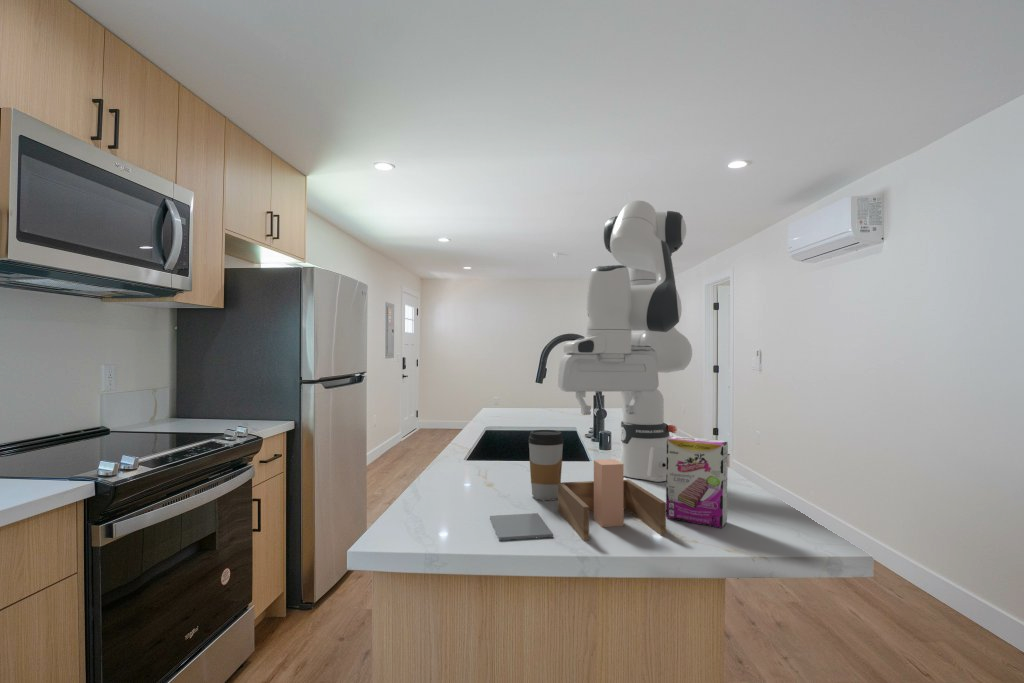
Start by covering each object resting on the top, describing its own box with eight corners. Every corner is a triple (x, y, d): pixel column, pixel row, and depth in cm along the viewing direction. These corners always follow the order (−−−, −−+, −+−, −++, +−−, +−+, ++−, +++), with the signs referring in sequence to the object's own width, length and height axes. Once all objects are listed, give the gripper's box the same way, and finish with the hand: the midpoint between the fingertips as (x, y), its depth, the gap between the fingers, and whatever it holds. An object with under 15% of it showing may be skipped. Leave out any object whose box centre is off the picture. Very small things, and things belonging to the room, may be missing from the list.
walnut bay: (628, 507, 113) (628, 479, 113) (665, 535, 96) (665, 502, 96) (557, 510, 110) (558, 482, 110) (583, 540, 93) (583, 507, 93)
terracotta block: (614, 518, 105) (614, 459, 106) (623, 525, 101) (623, 464, 101) (593, 519, 105) (593, 460, 105) (601, 526, 100) (601, 465, 100)
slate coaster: (537, 516, 106) (537, 513, 106) (553, 537, 95) (553, 533, 95) (489, 518, 104) (489, 515, 104) (499, 540, 93) (499, 537, 93)
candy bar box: (665, 519, 105) (665, 438, 105) (671, 512, 109) (671, 434, 109) (723, 529, 99) (723, 444, 99) (728, 522, 103) (728, 440, 103)
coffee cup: (561, 503, 115) (561, 436, 115) (524, 500, 117) (525, 434, 117) (565, 493, 123) (565, 430, 123) (530, 490, 125) (531, 428, 125)
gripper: (650, 345, 108) (650, 411, 108) (556, 344, 104) (555, 413, 104) (664, 345, 102) (664, 415, 102) (564, 344, 98) (564, 416, 98)
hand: (608, 414), depth 103 cm, fingers open, 8 cm apart
